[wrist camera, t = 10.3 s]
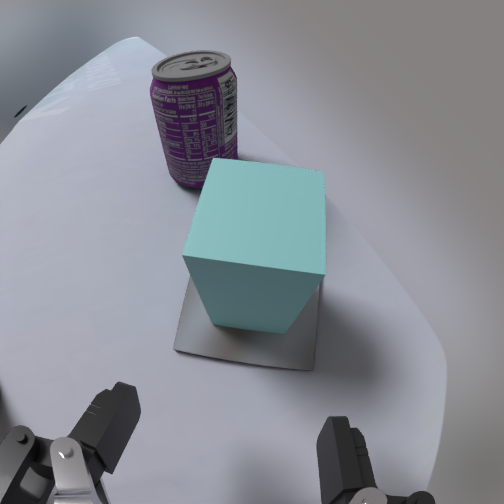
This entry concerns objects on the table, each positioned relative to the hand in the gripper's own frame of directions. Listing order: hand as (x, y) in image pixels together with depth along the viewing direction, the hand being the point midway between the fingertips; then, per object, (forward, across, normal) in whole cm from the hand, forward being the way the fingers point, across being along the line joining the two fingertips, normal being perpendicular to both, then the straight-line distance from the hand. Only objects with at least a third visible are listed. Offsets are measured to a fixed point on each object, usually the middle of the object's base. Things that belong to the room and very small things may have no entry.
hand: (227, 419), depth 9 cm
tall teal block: (+11, 0, 0) cm, 11 cm away
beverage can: (+21, +7, -9) cm, 24 cm away
